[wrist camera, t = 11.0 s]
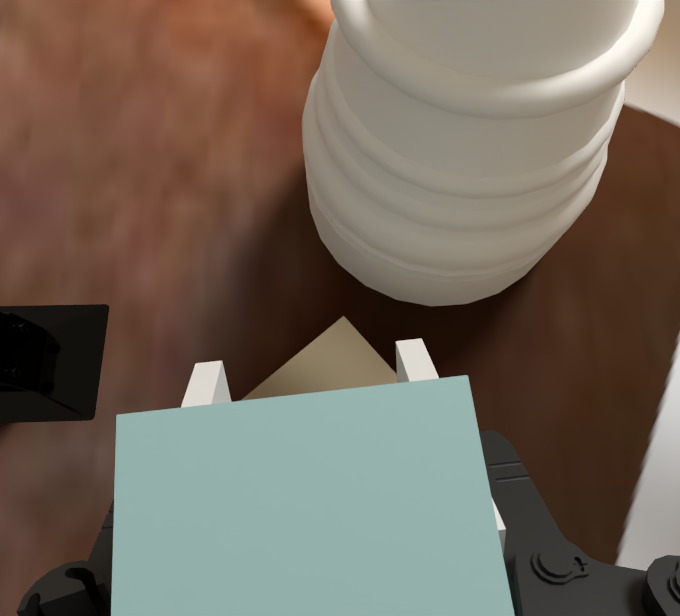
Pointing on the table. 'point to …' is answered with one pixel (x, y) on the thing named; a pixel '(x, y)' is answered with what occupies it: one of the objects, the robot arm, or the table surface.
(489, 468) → the robot arm
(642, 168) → the table surface
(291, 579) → the pillar block
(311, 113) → the honey pot
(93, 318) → the black boxy piece
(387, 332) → the table surface
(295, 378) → the base slab
